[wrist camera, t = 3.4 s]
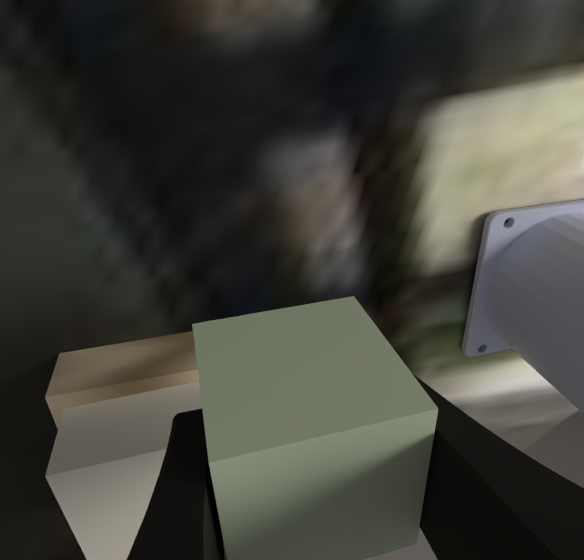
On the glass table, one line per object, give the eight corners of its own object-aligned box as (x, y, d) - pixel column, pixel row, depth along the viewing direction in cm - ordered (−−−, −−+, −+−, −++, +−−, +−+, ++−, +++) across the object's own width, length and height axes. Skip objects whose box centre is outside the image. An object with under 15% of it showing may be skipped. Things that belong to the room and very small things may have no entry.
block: (353, 296, 11) (438, 408, 8) (350, 412, 13) (416, 543, 10) (192, 323, 10) (208, 463, 7) (213, 444, 12) (233, 598, 9)
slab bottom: (239, 318, 20) (250, 359, 18) (252, 435, 24) (263, 484, 21) (61, 347, 19) (44, 397, 16) (104, 468, 22) (96, 523, 20)
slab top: (225, 375, 18) (234, 432, 15) (242, 475, 21) (253, 538, 18) (64, 408, 17) (45, 476, 14) (106, 509, 20) (97, 580, 17)
